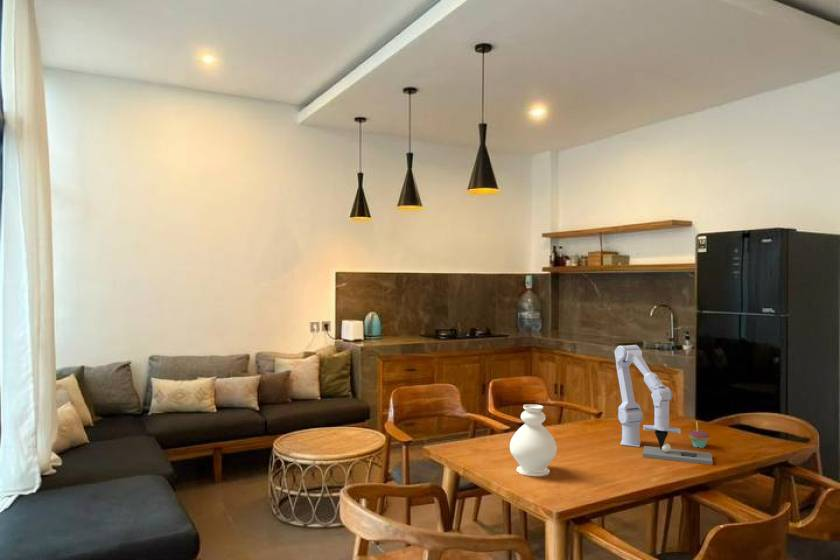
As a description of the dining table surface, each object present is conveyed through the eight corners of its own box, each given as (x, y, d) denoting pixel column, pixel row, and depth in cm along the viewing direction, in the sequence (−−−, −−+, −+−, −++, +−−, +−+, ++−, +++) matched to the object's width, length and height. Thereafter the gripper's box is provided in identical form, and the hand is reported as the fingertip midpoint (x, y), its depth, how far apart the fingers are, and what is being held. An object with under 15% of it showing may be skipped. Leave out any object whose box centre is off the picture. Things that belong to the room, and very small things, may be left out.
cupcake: (703, 450, 253) (703, 422, 253) (684, 445, 260) (684, 418, 260) (713, 446, 259) (713, 419, 258) (694, 442, 265) (694, 416, 265)
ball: (659, 448, 249) (662, 439, 248) (668, 452, 247) (672, 444, 247) (658, 450, 245) (662, 442, 244) (668, 455, 244) (672, 446, 243)
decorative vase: (565, 471, 226) (565, 406, 226) (539, 482, 214) (539, 413, 214) (527, 460, 239) (527, 399, 239) (500, 470, 227) (500, 406, 227)
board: (644, 449, 255) (644, 445, 255) (710, 456, 245) (710, 452, 245) (642, 457, 244) (642, 453, 244) (712, 464, 234) (712, 461, 234)
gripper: (642, 416, 246) (642, 449, 246) (680, 420, 240) (680, 453, 240) (643, 413, 252) (643, 445, 252) (680, 416, 246) (680, 449, 246)
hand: (661, 448), depth 246 cm, fingers closed, pressing on ball
